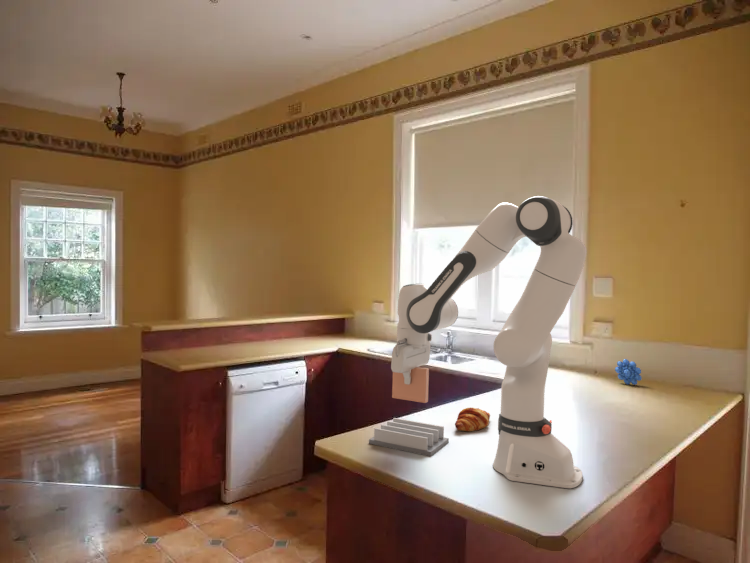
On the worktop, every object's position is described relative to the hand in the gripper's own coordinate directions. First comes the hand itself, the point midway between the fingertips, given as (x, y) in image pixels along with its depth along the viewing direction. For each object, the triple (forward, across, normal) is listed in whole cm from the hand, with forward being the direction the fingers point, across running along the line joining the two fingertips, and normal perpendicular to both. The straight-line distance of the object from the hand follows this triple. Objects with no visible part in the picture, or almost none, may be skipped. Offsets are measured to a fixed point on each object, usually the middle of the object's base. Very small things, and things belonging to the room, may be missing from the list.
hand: (410, 382), depth 158 cm
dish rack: (+18, 0, 0) cm, 18 cm away
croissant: (+19, +27, -12) cm, 35 cm away
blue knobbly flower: (+18, +131, -53) cm, 143 cm away
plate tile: (+5, 0, 0) cm, 5 cm away
